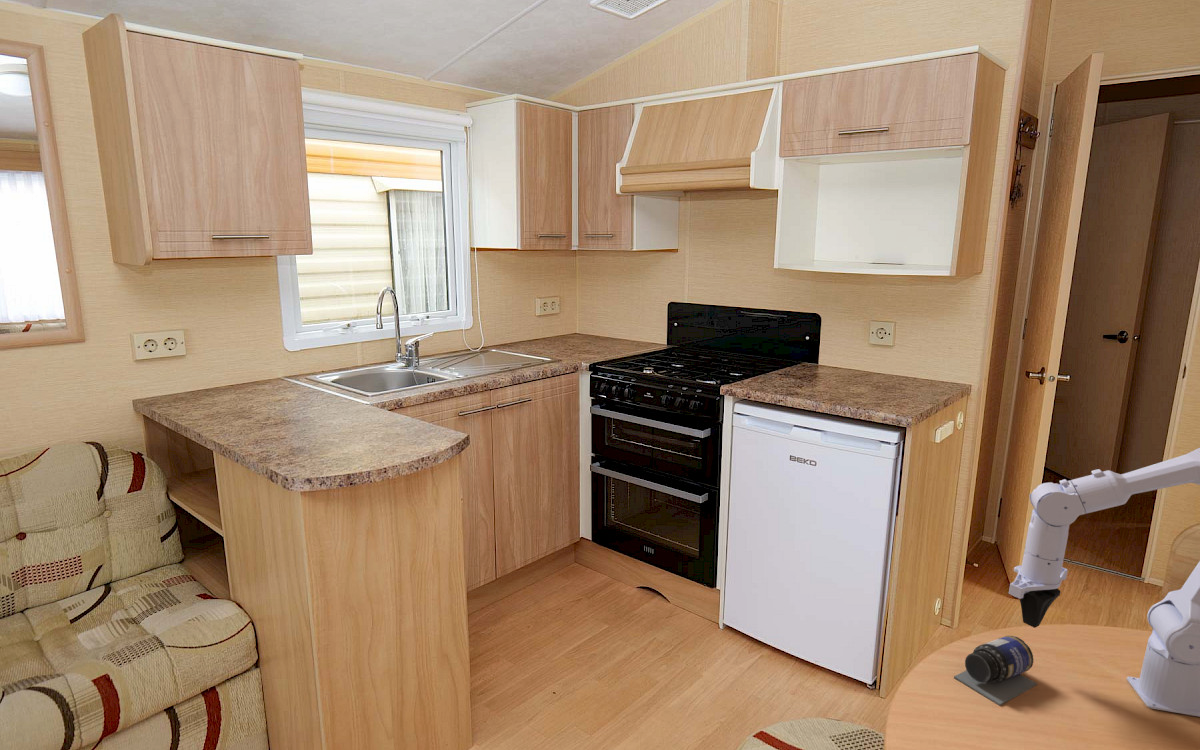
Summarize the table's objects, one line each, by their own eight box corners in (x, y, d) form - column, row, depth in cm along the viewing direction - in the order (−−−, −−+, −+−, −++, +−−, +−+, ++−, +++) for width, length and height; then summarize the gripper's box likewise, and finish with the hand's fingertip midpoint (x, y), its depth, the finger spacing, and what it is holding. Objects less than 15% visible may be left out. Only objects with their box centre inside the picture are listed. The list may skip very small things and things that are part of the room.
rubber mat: (990, 659, 126) (991, 657, 126) (1036, 684, 119) (1036, 683, 119) (953, 677, 120) (954, 676, 120) (999, 705, 113) (999, 704, 113)
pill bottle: (1039, 673, 119) (999, 690, 114) (1006, 669, 124) (966, 685, 119) (1028, 635, 120) (988, 650, 115) (996, 633, 126) (956, 648, 120)
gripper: (1042, 535, 126) (1030, 602, 129) (996, 551, 119) (984, 623, 122) (1085, 551, 120) (1071, 621, 123) (1039, 570, 113) (1025, 644, 116)
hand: (1030, 624), depth 122 cm, fingers closed
